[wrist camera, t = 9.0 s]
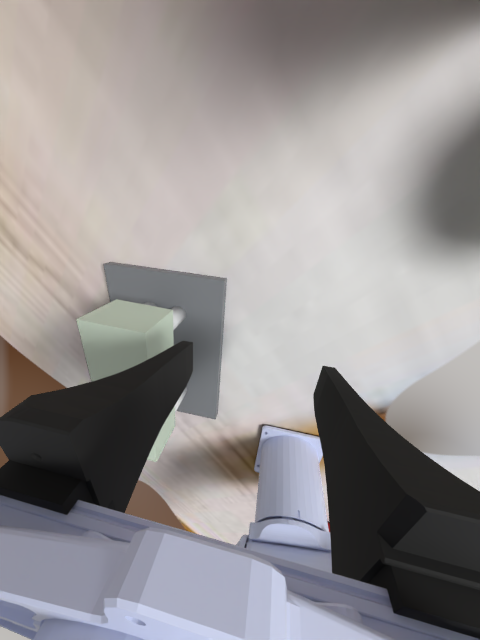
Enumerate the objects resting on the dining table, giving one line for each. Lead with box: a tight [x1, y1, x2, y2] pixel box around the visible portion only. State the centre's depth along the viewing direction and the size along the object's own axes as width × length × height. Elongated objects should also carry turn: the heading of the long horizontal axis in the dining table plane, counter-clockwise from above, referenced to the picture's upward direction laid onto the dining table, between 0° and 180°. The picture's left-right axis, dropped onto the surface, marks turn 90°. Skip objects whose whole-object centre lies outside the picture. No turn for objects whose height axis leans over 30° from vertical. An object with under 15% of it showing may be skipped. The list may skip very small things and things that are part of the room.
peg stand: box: [104, 262, 227, 419], centre depth 23 cm, size 18×12×4 cm, turn 175°
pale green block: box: [76, 299, 175, 462], centre depth 19 cm, size 14×5×4 cm, turn 173°
